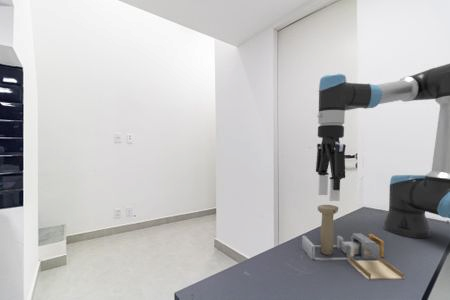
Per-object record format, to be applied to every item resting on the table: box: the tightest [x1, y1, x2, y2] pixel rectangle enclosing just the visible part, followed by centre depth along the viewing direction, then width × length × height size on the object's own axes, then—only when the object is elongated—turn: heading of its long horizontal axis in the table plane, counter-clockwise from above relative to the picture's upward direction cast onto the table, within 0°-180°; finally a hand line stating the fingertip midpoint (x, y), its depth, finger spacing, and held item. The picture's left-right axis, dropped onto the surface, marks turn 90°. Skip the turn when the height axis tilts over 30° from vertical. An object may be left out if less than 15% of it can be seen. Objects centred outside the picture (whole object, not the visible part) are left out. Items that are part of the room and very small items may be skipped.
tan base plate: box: [347, 257, 406, 281], centre depth 66 cm, size 10×9×2 cm
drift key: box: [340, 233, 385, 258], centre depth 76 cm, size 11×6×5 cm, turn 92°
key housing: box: [350, 233, 380, 260], centre depth 76 cm, size 5×7×5 cm
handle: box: [317, 204, 339, 256], centre depth 75 cm, size 5×6×15 cm
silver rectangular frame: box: [301, 235, 355, 261], centre depth 76 cm, size 13×9×4 cm
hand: (328, 197), depth 75 cm, fingers open, 7 cm apart
